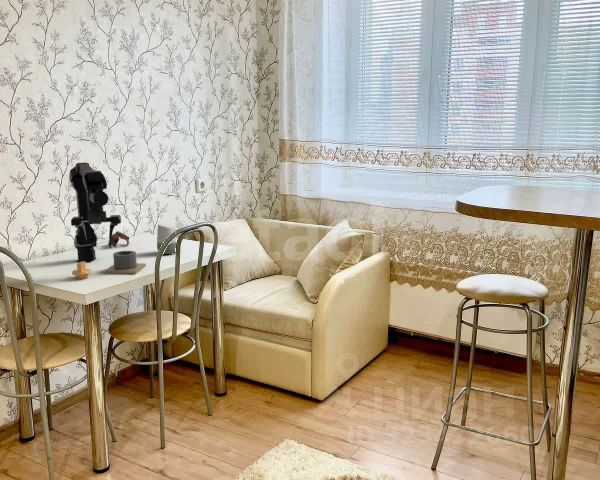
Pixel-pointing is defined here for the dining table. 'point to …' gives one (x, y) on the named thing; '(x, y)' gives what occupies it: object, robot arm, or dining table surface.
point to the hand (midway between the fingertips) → (98, 241)
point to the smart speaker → (162, 236)
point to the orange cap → (81, 271)
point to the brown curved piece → (117, 239)
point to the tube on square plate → (125, 263)
